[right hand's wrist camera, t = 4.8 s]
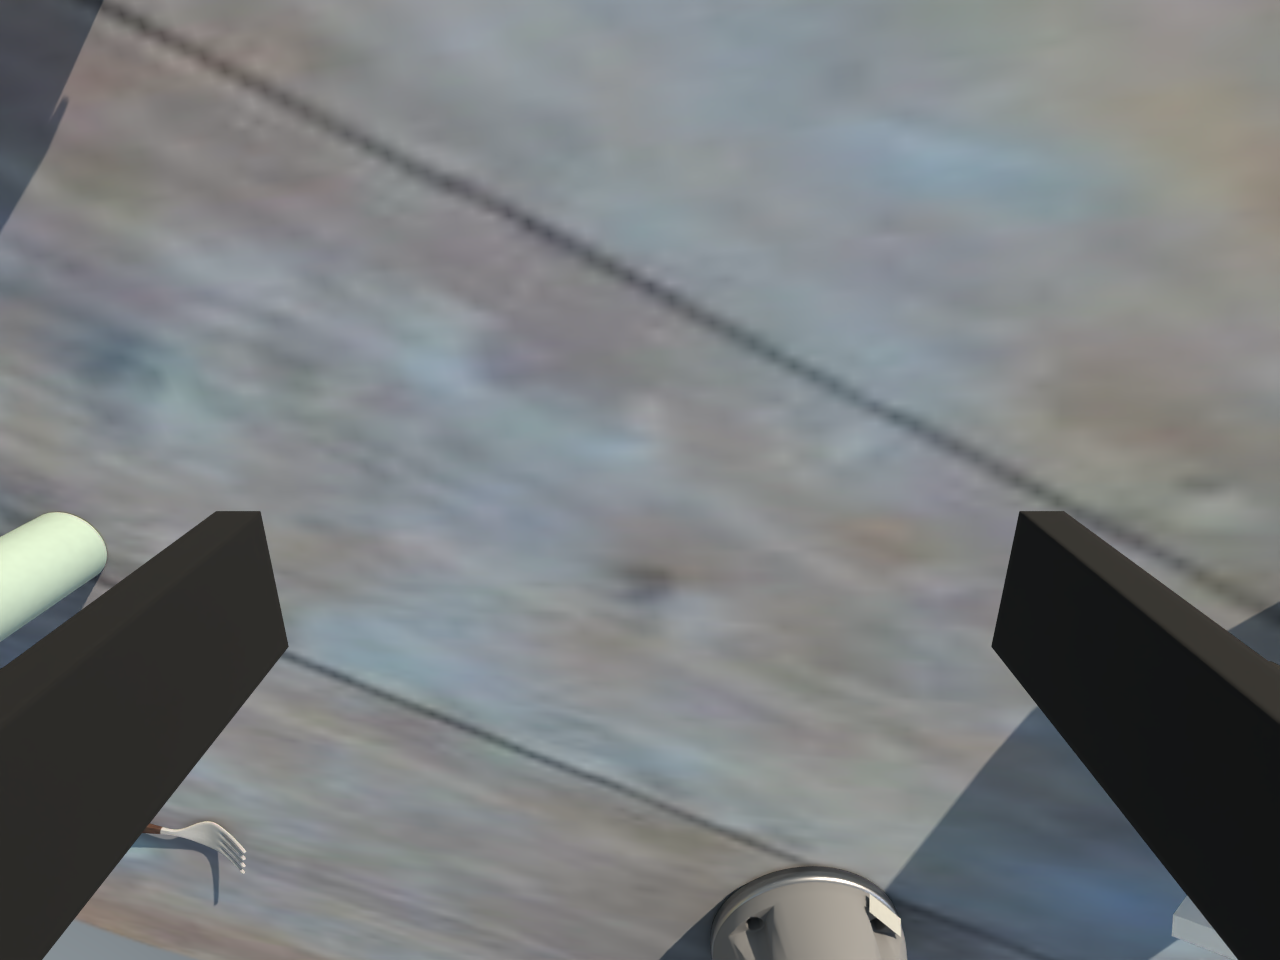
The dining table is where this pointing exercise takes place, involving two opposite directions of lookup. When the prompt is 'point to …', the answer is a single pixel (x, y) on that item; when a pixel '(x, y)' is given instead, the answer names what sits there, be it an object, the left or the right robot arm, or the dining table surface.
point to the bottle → (45, 566)
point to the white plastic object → (1197, 929)
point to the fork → (206, 838)
